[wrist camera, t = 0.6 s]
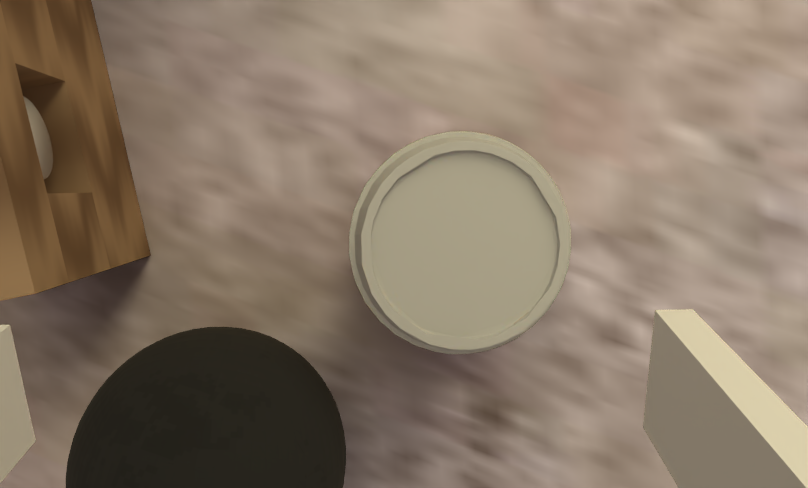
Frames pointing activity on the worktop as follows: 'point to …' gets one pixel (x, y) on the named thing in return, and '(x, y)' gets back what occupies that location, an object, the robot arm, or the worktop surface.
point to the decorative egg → (211, 418)
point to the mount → (61, 152)
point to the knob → (40, 138)
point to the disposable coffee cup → (460, 242)
